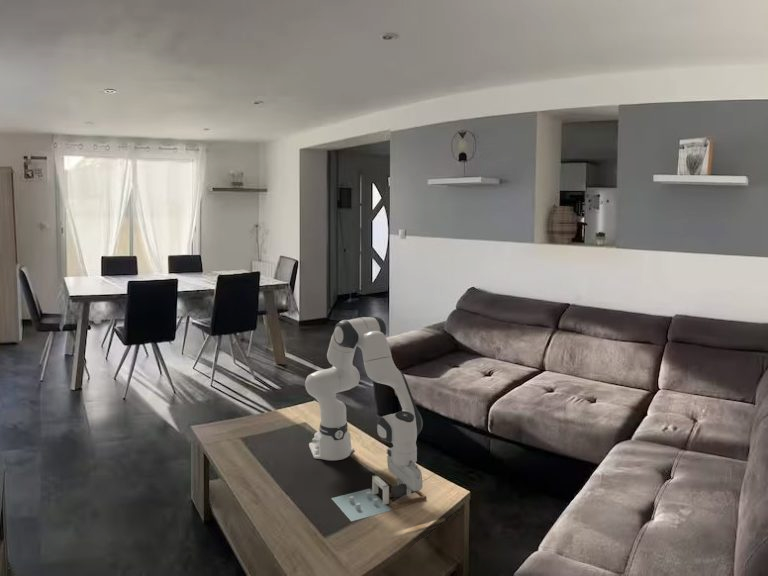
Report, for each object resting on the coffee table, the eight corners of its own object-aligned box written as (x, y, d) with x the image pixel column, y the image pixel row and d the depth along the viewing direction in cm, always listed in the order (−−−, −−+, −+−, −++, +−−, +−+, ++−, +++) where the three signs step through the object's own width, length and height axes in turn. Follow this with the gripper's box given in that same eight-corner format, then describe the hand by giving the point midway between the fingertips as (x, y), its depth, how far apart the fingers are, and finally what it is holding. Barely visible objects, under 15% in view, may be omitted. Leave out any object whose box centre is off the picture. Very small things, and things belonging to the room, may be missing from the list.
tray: (383, 500, 221) (383, 494, 220) (414, 491, 227) (414, 486, 227) (394, 510, 213) (394, 505, 213) (426, 501, 219) (426, 496, 219)
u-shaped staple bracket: (372, 493, 223) (372, 476, 222) (377, 492, 224) (376, 475, 223) (384, 504, 215) (383, 487, 214) (388, 503, 216) (388, 486, 215)
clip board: (331, 500, 221) (331, 493, 220) (369, 490, 228) (369, 483, 227) (351, 524, 205) (351, 515, 204) (392, 512, 212) (392, 504, 212)
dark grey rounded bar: (391, 494, 219) (391, 484, 219) (412, 489, 224) (412, 479, 223) (396, 499, 216) (396, 489, 215) (417, 493, 220) (417, 483, 219)
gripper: (427, 465, 210) (426, 502, 212) (398, 444, 228) (398, 478, 230) (411, 469, 207) (411, 506, 209) (384, 447, 225) (384, 482, 227)
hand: (404, 491), depth 220 cm, fingers closed on dark grey rounded bar, 4 cm apart
